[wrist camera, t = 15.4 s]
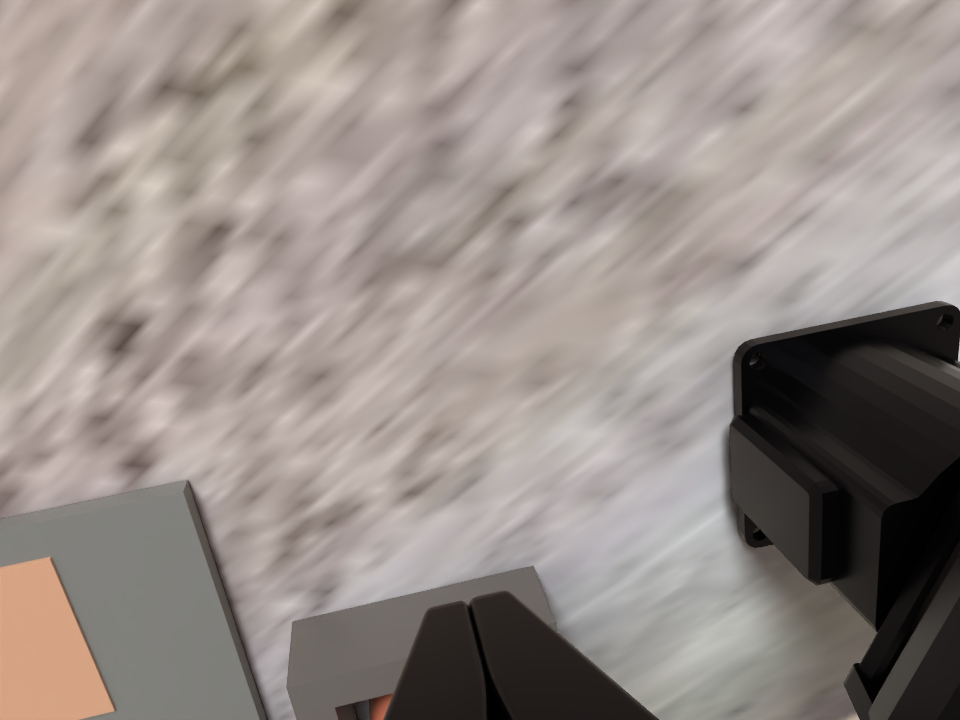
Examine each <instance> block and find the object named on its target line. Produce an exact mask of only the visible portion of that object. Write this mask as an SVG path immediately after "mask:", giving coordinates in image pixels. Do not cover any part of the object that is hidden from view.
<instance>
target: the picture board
mask: <svg viewBox="0 0 960 720" xmlns="http://www.w3.org/2000/svg"><path fill="white" fill-rule="evenodd" d="M0 720H267V718H266V715H265V712H264V709H263V706H262V703H261V700H260V697H259V694H258V691H257V688H256V685H255V682H254V679H253V676H252V673H251V670H250V667H249V664H248V661H247V658H246V655H245V652H244V649H243V646H242V643H241V640H240V637H239V634H238V631H237V628H236V625H235V622H234V619H233V616H232V613H231V610H230V607H229V604H228V600H227V597H226V594H225V591H224V588H223V585H222V582H221V579H220V576H219V573H218V570H217V567H216V564H215V561H214V558H213V555H212V552H211V549H210V546H209V543H208V540H207V537H206V534H205V531H204V528H203V525H202V522H201V519H200V516H199V513H198V510H197V507H196V504H195V501H194V498H193V495H192V492H191V489H190V486H189V483H188V480H184V481H180V482H175V483H170V484H165V485H161V486H156V487H151V488H146V489H142V490H137V491H132V492H127V493H122V494H118V495H113V496H108V497H103V498H99V499H94V500H89V501H84V502H80V503H75V504H70V505H65V506H61V507H56V508H51V509H46V510H41V511H37V512H32V513H27V514H22V515H18V516H13V517H8V518H3V519H0Z"/></svg>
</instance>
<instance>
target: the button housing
mask: <svg viewBox="0 0 960 720" xmlns="http://www.w3.org/2000/svg"><path fill="white" fill-rule="evenodd" d="M500 590H507V591H510V592H511V593H512V594H513V595H515V596H516V597H517V598H518V599H519V600H520V601H522V602H523V603H524V604H525V605H526V606H527V607H529V608H530V609H531V610H532V611H533V612H534V613H536V614H537V615H538V616H539V617H540V618H541V619H543V620H544V621H545V622H546V623H547V624H548V625H549V626H551V627H552V628H553V629H554V630H555V631H556V632H557V629H556V622H555V620H554V617H553V615H552V612H551V610H550V607H549V605H548V602H547V599H546V597H545V594H544V592H543V589H542V587H541V584H540V582H539V579H538V577H537V574H536V572H535V569H534V567H533V566H530V567H526V568H521V569H517V570H513V571H509V572H504V573H500V574H496V575H491V576H487V577H483V578H478V579H474V580H470V581H466V582H461V583H457V584H453V585H448V586H444V587H440V588H435V589H431V590H427V591H423V592H418V593H414V594H410V595H405V596H401V597H397V598H392V599H388V600H384V601H380V602H375V603H371V604H367V605H362V606H358V607H354V608H349V609H345V610H341V611H337V612H332V613H328V614H324V615H319V616H315V617H311V618H306V619H302V620H298V621H294V622H292V632H291V644H290V655H289V666H288V677H287V690H288V693H289V697H290V700H291V703H292V706H293V709H294V713H295V716H296V719H297V720H357V718H356V715H355V711H354V707H353V704H352V703H356V702H360V701H364V700H368V699H372V698H376V697H380V696H384V695H388V694H392V693H394V690H395V688H396V685H397V683H398V680H399V678H400V675H401V673H402V670H403V667H404V665H405V662H406V660H407V657H408V655H409V652H410V649H411V647H412V644H413V642H414V639H415V637H416V634H417V632H418V629H419V626H420V624H421V621H422V619H423V616H424V614H425V612H426V610H427V609H428V608H430V607H432V606H436V605H441V604H445V603H449V602H453V601H458V600H463V601H465V602H466V603H467V604H468V606H469V602H470V600H471V599H472V598H473V597H475V596H479V595H483V594H488V593H492V592H496V591H500Z"/></svg>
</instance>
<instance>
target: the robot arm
mask: <svg viewBox="0 0 960 720" xmlns="http://www.w3.org/2000/svg"><path fill="white" fill-rule="evenodd" d="M942 315H943V318H942V321H941V322H940V323H939V324H938V325H937V321H938V319H939V318H940V317H941V316H942ZM959 341H960V310H959V309H958V308H957V307H955V306H953V305H951V304H948V303H945V302H943V301H935V302H930V303H925V304H920V305H915V306H911V307H906V308H901V309H896V310H891V311H886V312H882V313H877V314H872V315H867V316H862V317H857V318H852V319H848V320H843V321H838V322H833V323H828V324H823V325H819V326H814V327H809V328H804V329H799V330H794V331H789V332H785V333H780V334H775V335H770V336H765V337H760V338H756V339H751V340H748V341H746V342H744V343H743V344H741V345H740V346H739V347H738V349H737V351H736V352H735V356H734V387H735V417H734V418H733V420H732V422H731V424H730V461H731V496H732V499H733V501H734V502H735V503H736V504H737V505H738V531H739V535H740V536H741V537H742V538H743V539H744V540H745V541H746V543H747V544H748V545H749V546H752V547H754V548H757V547H764V546H768V545H773V544H774V545H775V546H776V547H777V548H778V549H779V550H780V551H781V552H782V553H783V554H784V555H785V557H786V558H787V559H788V560H789V561H790V562H791V563H792V564H793V565H794V566H795V567H796V568H797V569H798V570H799V572H800V573H801V574H802V575H803V576H804V577H805V578H806V579H808V580H809V581H811V582H812V583H814V584H815V585H821V584H825V583H830V584H831V585H832V586H833V587H834V588H835V589H836V590H837V591H838V592H839V594H840V595H841V596H842V597H843V598H844V599H845V600H846V601H847V602H848V603H849V604H850V605H851V606H852V607H853V608H854V609H855V610H856V611H857V612H858V613H859V614H860V615H861V616H862V617H863V618H864V619H865V620H866V621H867V622H868V623H869V624H870V625H871V626H872V627H873V628H874V630H875V631H876V632H877V634H876V636H875V638H874V640H873V641H872V643H871V645H870V647H869V649H868V650H867V652H866V654H865V656H864V658H863V659H862V661H861V663H855V664H854V665H853V667H852V669H851V671H850V673H849V674H848V676H847V678H846V680H845V682H844V686H845V688H846V690H847V692H848V695H849V697H850V699H851V701H852V703H853V706H854V708H855V710H856V712H857V715H858V717H859V719H860V720H960V362H959V361H958V352H959ZM756 353H760V356H759V360H758V361H757V362H756V363H755V364H753V365H750V364H749V363H750V359H751V358H752V356H753V355H754V354H756ZM757 527H758V528H759V531H757V532H755V533H753V531H754V530H755V529H756V528H757ZM383 720H659V719H658V718H656V717H655V716H654V715H653V714H652V713H651V712H649V711H648V710H647V709H646V708H645V707H644V706H642V705H641V704H640V703H639V702H638V701H637V700H635V699H634V698H633V697H632V696H631V695H630V694H629V693H627V692H626V691H625V690H624V689H623V688H622V687H620V686H619V685H618V684H617V683H616V682H615V681H613V680H612V679H611V678H610V677H609V676H608V675H606V674H605V673H604V672H603V671H602V670H601V669H599V668H598V667H597V666H596V665H595V664H594V663H592V662H591V661H590V660H589V659H588V658H587V657H586V656H584V655H583V654H582V653H581V652H580V651H579V650H577V649H576V648H575V647H574V646H573V645H572V644H570V643H569V642H568V641H567V640H566V639H565V638H563V637H562V636H561V635H560V634H559V633H558V632H556V631H555V630H554V629H553V628H552V627H551V626H549V625H548V624H547V623H546V622H545V621H544V620H543V619H541V618H540V617H539V616H538V615H537V614H536V613H534V612H533V611H532V610H531V609H530V608H529V607H527V606H526V605H525V604H524V603H523V602H522V601H520V600H519V599H518V598H517V597H516V596H515V595H513V594H512V593H511V592H510V591H507V590H500V591H496V592H492V593H488V594H483V595H479V596H475V597H473V598H472V599H471V600H470V602H469V606H468V604H467V603H466V602H465V601H463V600H458V601H453V602H449V603H445V604H441V605H436V606H432V607H430V608H428V609H427V610H426V612H425V614H424V616H423V619H422V621H421V624H420V626H419V629H418V632H417V634H416V637H415V639H414V642H413V644H412V647H411V649H410V652H409V655H408V657H407V660H406V662H405V665H404V667H403V670H402V673H401V675H400V678H399V680H398V683H397V685H396V688H395V690H394V693H393V696H392V698H391V701H390V703H389V706H388V708H387V711H386V713H385V716H384V719H383Z"/></svg>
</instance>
